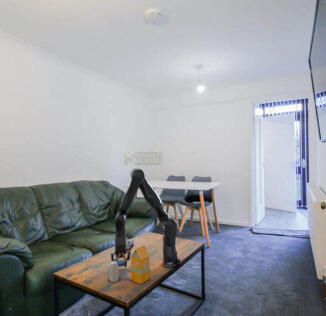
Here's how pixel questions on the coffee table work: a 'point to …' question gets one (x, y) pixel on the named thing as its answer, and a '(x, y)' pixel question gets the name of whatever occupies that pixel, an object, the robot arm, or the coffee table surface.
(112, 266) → the jar
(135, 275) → the orange juice
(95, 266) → the coffee table surface
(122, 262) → the lid
